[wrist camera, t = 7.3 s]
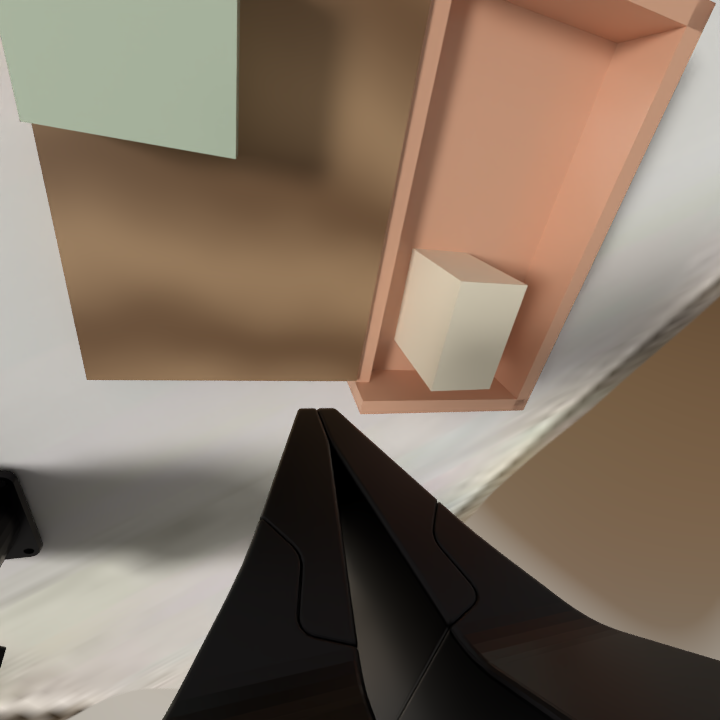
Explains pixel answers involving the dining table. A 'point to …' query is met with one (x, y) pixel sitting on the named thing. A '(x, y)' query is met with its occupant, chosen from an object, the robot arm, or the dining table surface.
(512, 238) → the tray
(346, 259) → the board
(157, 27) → the sage green square block
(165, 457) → the dining table surface
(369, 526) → the robot arm
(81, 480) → the dining table surface
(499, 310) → the ivory rectangular block
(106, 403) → the dining table surface
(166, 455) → the dining table surface
